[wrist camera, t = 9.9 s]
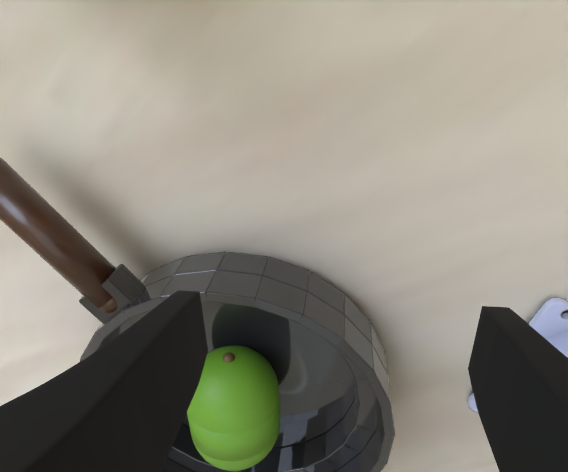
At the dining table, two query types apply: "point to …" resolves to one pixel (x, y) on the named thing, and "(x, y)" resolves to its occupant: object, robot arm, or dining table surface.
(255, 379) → the lime
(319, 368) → the pan
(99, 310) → the pan handle
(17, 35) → the dining table surface
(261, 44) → the dining table surface
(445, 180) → the dining table surface
